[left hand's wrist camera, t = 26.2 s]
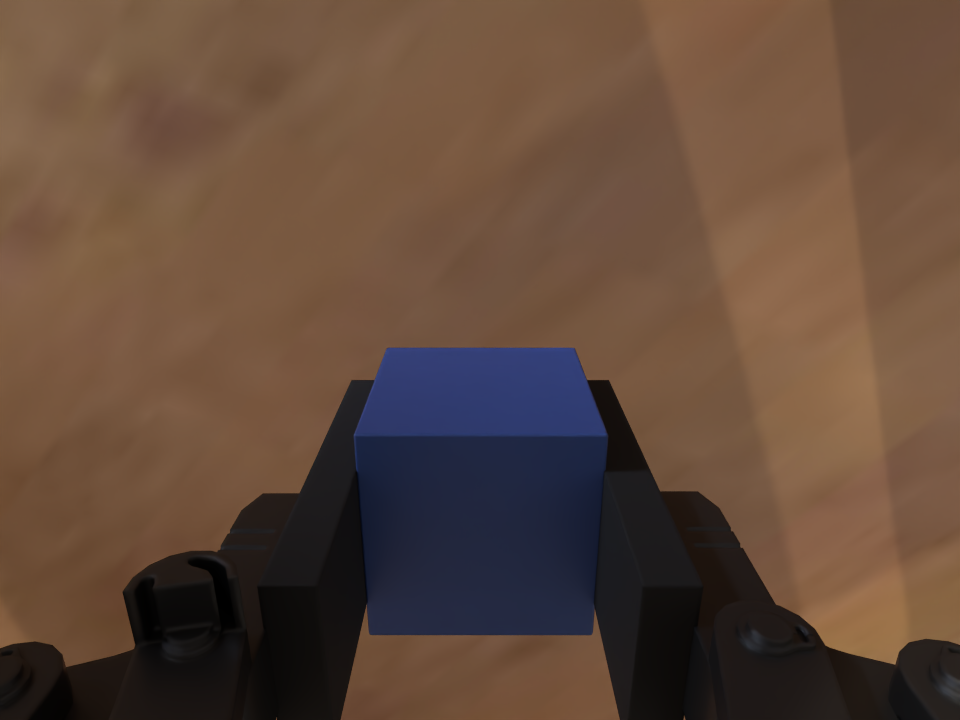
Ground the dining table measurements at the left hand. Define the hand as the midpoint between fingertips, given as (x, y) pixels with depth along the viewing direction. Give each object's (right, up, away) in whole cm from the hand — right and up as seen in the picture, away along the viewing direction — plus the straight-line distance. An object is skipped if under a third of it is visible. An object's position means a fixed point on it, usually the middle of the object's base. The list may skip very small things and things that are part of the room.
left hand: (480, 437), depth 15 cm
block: (0, 0, 0) cm, 0 cm away
